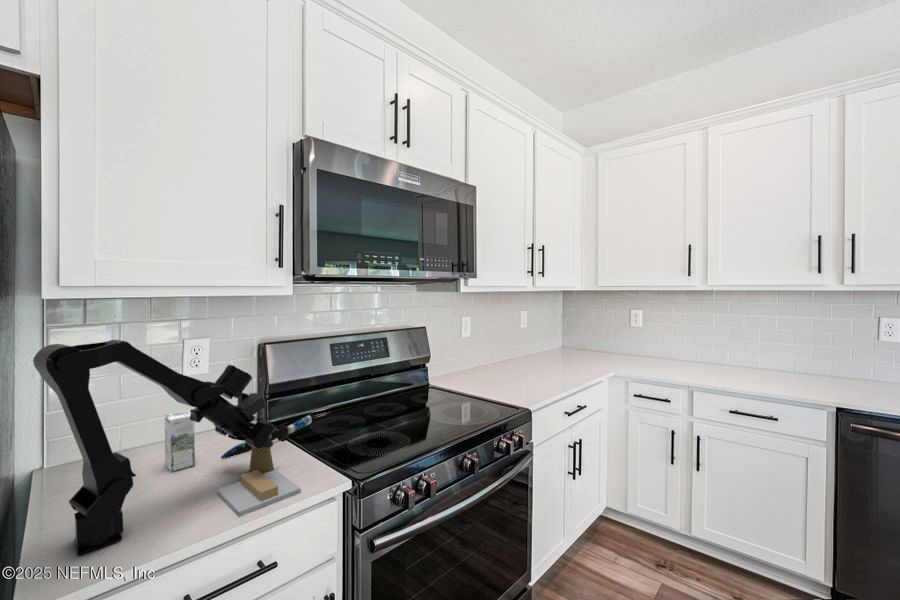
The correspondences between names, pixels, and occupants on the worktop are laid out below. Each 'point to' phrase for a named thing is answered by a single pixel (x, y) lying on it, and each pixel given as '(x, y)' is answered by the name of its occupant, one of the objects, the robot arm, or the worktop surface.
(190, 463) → the syrup box
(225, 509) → the worktop surface
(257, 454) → the olive pepper mill
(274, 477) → the ridge board
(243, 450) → the knife
